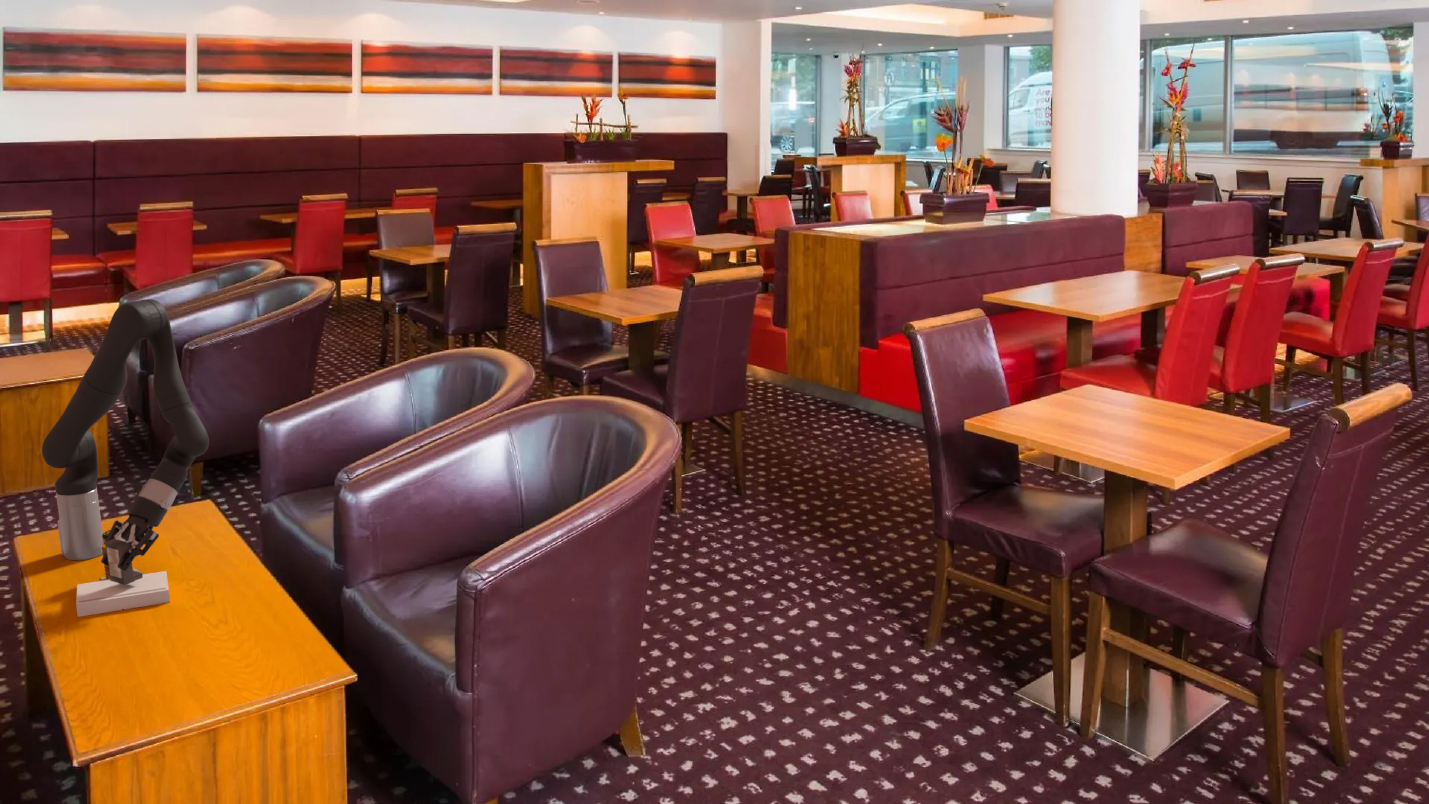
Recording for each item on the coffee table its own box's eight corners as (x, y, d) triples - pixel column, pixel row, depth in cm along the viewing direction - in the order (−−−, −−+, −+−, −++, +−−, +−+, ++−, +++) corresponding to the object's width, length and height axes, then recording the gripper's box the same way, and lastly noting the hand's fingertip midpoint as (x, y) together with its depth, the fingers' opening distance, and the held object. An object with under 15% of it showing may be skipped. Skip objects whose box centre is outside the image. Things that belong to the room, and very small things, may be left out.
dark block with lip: (109, 580, 280) (104, 542, 278) (128, 573, 284) (123, 535, 282) (124, 585, 277) (118, 546, 275) (143, 578, 282) (138, 539, 279)
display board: (77, 616, 271) (76, 604, 271) (79, 596, 283) (77, 584, 282) (170, 602, 279) (168, 589, 279) (167, 582, 291) (166, 570, 290)
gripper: (122, 490, 285) (81, 553, 278) (161, 499, 278) (120, 565, 271) (145, 505, 291) (105, 568, 284) (184, 514, 284) (144, 579, 277)
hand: (113, 566), depth 277 cm, fingers closed on dark block with lip, 5 cm apart
